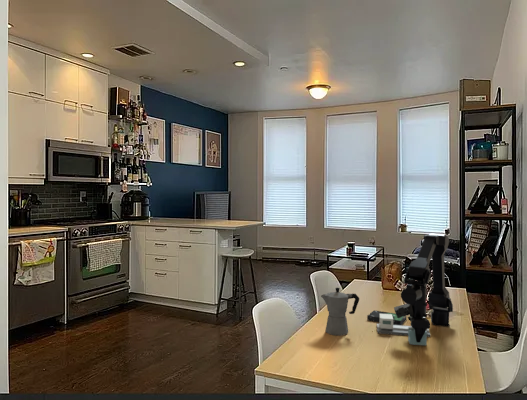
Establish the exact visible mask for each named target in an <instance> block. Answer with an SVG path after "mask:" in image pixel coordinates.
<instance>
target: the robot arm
mask: <svg viewBox="0 0 527 400" xmlns="http://www.w3.org/2000/svg"><path fill="white" fill-rule="evenodd" d="M449 245H450V239H449V237H448V236H447V235H446V234H445V233H444V234H443V233H429V234H424V236H423V243H422V245H421V248H420V250H419V253H418V255H417V257H416V259H414V260H413V261H411V262H410V264H409V266H408V267H407V268H406V273H405V276H404V277H405V278H404V281H403V284H405V285H406V288H403V289H402V291H401V293H400V297H401V300H402V301H403V303H404V304H400V305H397V306H395V307H393V309H394V312H395V314H396V316H397V318H401V317H403V316H406V317H407V319H408V321H410V323H409V324H410V326H412V327H413V328H414V329H415V336H416V341H417V342H420V341H421V339H422V337H423V335H424V333H425V331H426V330H427V329H429V330H430V329H431V323H432V326H435V327H437V326H439V327H450V326H451V325H450V313H453V312H454V308H453V307H454V305H453V301H452V298H450V297H451V295H450V292H449V290H448V289H447V287H446V280H445V279H446V277H445V253H446V251H447V250H448V246H449ZM431 262H432V263H431ZM430 263H431V267H432V273H431V270H430ZM431 276H432V285H433V287H432V290H430V293H429V294H428V303H427V285H428V284H429V283H430V279H431ZM427 307H428V309H429V310H432V311H430V321H431V322H430V321H429V319H428V318H427V317H428V316H427V315H428V314H427ZM423 317H425V318H423Z"/></svg>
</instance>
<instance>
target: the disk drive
mask: <svg viewBox="0 0 527 400" xmlns="http://www.w3.org/2000/svg"><path fill="white" fill-rule="evenodd" d="M379 314H392V316H393V325H404V323H405V322H406V321H407V315H406V316H403V317H401V318H397V316H396V313H393V312H387V311H381V310H373V311H371V312H370V313H369V314H367V315H366V316H367V317H366V318H367V319H366V320H367V321H369V322H373V323H374V322H376V323H379Z"/></svg>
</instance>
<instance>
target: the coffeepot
mask: <svg viewBox="0 0 527 400" xmlns="http://www.w3.org/2000/svg"><path fill="white" fill-rule="evenodd" d="M340 289H341V288H340V287H335V291H334V292H333V291H332V292H328V293H325V294H322V295H320V297H321V298H322V300H323V301H324V303H325V304H326V307H327V308H326V309H327V312H328V316H327V321H326V326H325V333H327V334H328V335H332V336H345V335H347V334H349V327H348V320H347V316H346V314H347V311H348V306H349V305H348V303H349V300H350V299H351V300H352V299H354V301H353V305H352V310H351V311H348V313H349V314H350V315H354V314H355V312H356V310H357V307H358V305H359V301H360V297H359V296H358V295H357V294H356V293H345V292H341V291H340Z"/></svg>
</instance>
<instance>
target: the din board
mask: <svg viewBox="0 0 527 400" xmlns="http://www.w3.org/2000/svg"><path fill="white" fill-rule="evenodd" d="M423 318H426V317H423ZM408 327H412V326H411V325H406V324H405V325H404V324H402V325H393V316H392V314H379V322H376V330H377V332H376V333H377V334H383V335H396V336H407V337H408ZM426 331H427V338H431V337H432V335H431V333H430V329H427V330H426Z"/></svg>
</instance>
